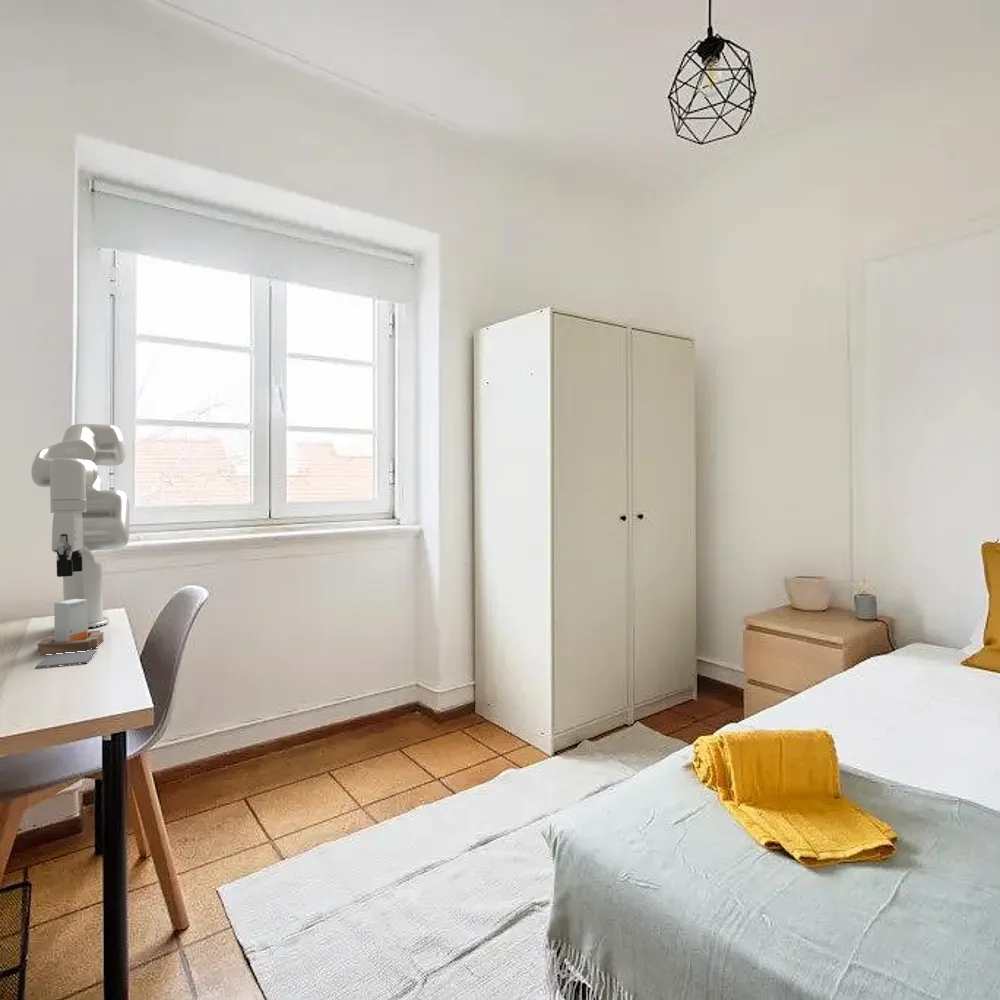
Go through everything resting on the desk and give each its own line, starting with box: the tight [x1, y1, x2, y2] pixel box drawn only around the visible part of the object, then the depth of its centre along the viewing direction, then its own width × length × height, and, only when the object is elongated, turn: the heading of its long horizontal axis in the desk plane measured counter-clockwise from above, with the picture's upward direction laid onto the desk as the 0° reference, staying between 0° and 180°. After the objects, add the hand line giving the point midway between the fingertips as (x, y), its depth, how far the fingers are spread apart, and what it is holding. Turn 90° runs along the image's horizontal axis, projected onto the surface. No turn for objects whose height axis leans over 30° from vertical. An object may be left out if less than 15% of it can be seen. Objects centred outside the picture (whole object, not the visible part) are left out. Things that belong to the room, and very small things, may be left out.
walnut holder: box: [37, 630, 104, 656], centre depth 159 cm, size 12×12×2 cm
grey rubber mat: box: [35, 650, 98, 669], centre depth 147 cm, size 10×10×1 cm
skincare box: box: [53, 599, 89, 642], centre depth 158 cm, size 6×4×12 cm
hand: (70, 573), depth 158 cm, fingers open, 9 cm apart
